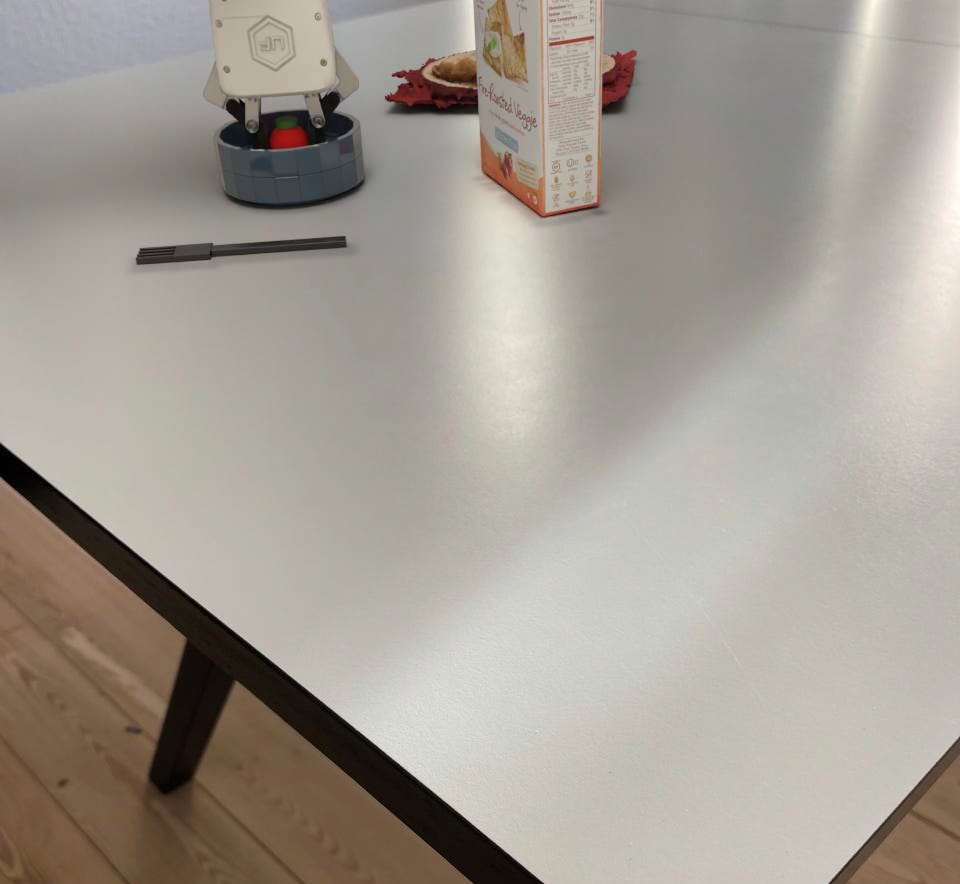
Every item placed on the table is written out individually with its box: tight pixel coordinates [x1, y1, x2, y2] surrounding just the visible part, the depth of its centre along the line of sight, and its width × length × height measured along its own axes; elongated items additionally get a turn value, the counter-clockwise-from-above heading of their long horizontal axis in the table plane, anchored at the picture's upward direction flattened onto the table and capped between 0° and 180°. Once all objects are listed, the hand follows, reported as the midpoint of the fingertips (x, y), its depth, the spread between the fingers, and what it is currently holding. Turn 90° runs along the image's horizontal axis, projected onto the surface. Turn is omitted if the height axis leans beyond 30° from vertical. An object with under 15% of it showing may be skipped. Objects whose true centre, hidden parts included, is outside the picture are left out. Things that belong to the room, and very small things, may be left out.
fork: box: [135, 235, 347, 265], centre depth 92 cm, size 2×17×1 cm, turn 95°
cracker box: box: [472, 0, 605, 217], centre depth 94 cm, size 14×6×21 cm, turn 22°
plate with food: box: [384, 49, 638, 110], centre depth 127 cm, size 24×26×3 cm
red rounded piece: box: [269, 116, 309, 150], centre depth 102 cm, size 4×4×5 cm
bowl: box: [212, 108, 366, 206], centre depth 103 cm, size 13×13×5 cm
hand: (293, 170), depth 103 cm, fingers closed on red rounded piece, 3 cm apart
